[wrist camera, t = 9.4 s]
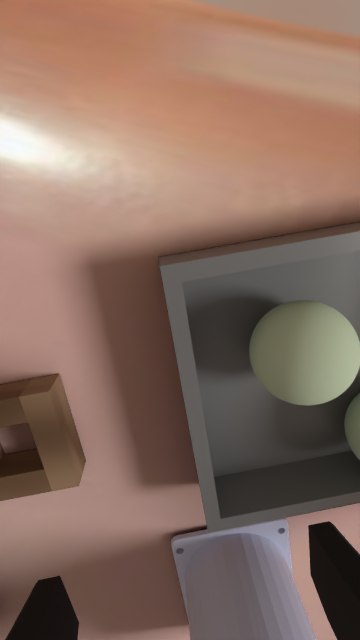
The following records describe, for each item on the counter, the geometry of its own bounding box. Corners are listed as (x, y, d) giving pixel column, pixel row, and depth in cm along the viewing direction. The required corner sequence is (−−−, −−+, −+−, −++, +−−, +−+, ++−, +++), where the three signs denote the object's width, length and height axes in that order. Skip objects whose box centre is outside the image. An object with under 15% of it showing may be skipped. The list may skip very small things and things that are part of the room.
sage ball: (323, 368, 19) (386, 414, 15) (240, 385, 19) (277, 438, 14) (321, 284, 18) (389, 304, 13) (231, 300, 17) (269, 326, 13)
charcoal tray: (419, 441, 22) (467, 481, 19) (199, 484, 22) (208, 532, 18) (435, 208, 18) (501, 206, 14) (158, 257, 17) (159, 266, 14)
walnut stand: (85, 460, 20) (79, 485, 18) (-12, 479, 20) (-29, 506, 18) (59, 373, 19) (48, 391, 17) (-49, 393, 18) (-72, 413, 16)
